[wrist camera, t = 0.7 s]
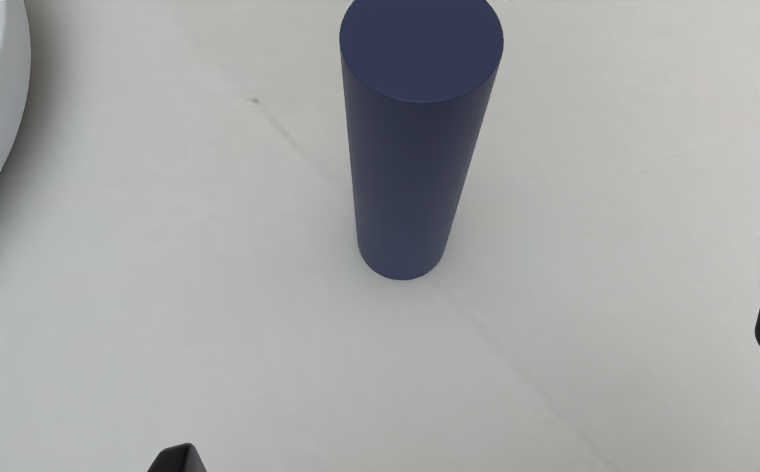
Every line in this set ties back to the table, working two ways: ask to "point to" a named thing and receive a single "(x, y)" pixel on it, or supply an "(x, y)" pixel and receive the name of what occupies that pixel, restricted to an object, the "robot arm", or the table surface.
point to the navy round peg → (414, 120)
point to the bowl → (13, 71)
